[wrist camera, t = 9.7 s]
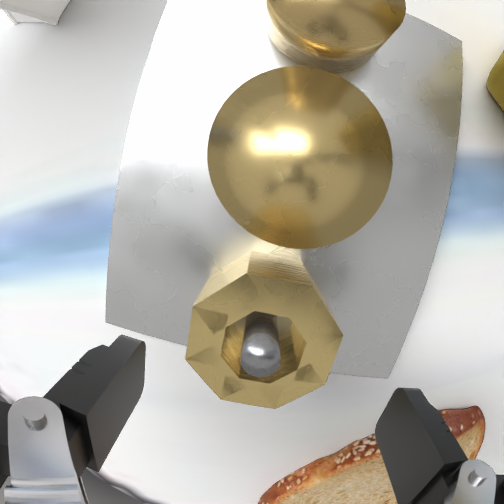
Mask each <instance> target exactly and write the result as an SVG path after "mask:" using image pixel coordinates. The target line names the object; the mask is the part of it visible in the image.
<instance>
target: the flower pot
mask: <svg viewBox="0 0 504 504" xmlns="http://www.w3.org/2000/svg"><path fill="white" fill-rule="evenodd" d="M487 88H488V90H489V92H490V93H491V95H492V96H493V97H494V99H495V100H496V101H497V103H498V104H499V106H500V107H501V108H502V110H503V111H504V51H503V53H502V54H501V56H500V58H499V59H498V61H497V62H496V64H495V65H494V67H493V68H492V70H491V72H490V74H489V77H488V80H487Z"/></svg>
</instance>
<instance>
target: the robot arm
mask: <svg viewBox="0 0 504 504" xmlns="http://www.w3.org/2000/svg"><path fill="white" fill-rule="evenodd" d="M145 351H146V345H145V342H144V341H141V340H137V339H134V338H131V337H128V336H125V335H120V336H119V337H118V338H117V339H116V340H115V341H114V342H113V343H112V344H111V345H110V346H109V347H108V346H105V345H100V346H98V347H96V348H93V349H91V350H89V351H88V352H87V353H86V354H85V355H84V356H83V357H82V358H81V359H80V360H79V362H77V363H76V364H75V365H74V366H73V367H72V369H70V370H69V371H68V372H67V373H66V374H65V375H64V376H63V377H62V378H61V379H60V380H59V381H58V382H57V383H56V384H55V385H54V386H53V387H52V388H51V389H50V390H49V391H48V393H47V394H46V395H45V396H44V397H43V398H42V397H35V396H32V397H25V398H22V399H20V400H18V401H16V402H15V403H14V404H13V405H12V404H8V403H5V402H1V401H0V488H1V487H2V485H3V484H4V482H5V480H6V479H7V477H8V476H11V485H10V486H6V487H5V491H4V499H5V504H89V502H88V499H87V496H86V492H85V490H84V486H83V483H82V480H81V475H82V473H83V471H84V470H85V468H86V467H88V468H90V469H93V470H95V471H97V472H99V470H100V468H101V467H102V465H103V463H104V461H105V459H106V458H107V456H108V454H109V452H110V450H111V449H112V447H113V445H114V443H115V441H116V440H117V438H118V436H119V434H120V432H121V431H122V429H123V427H124V425H125V424H126V422H127V420H128V418H129V417H130V415H131V413H132V411H133V410H134V408H135V406H136V404H137V403H138V401H139V399H140V397H141V394H142V391H143V387H144V375H145ZM375 438H376V441H377V444H378V447H379V450H380V452H381V455H382V458H383V461H384V464H385V467H386V470H387V473H388V476H389V479H390V482H391V485H392V488H393V491H394V494H395V497H396V500H397V503H398V504H504V475H495V473H494V471H493V469H492V468H491V467H490V466H489V465H488V464H486V463H485V462H483V461H480V460H475V459H472V460H468V458H467V456H466V455H465V453H464V451H463V450H462V448H461V446H460V445H459V443H458V441H457V440H456V438H455V436H454V435H453V433H452V432H450V428H449V427H448V425H447V424H445V420H444V419H443V417H442V415H441V414H440V412H439V411H438V410H436V409H435V408H434V407H433V406H432V405H431V404H430V403H429V402H428V401H427V399H426V397H425V396H424V394H423V393H422V391H421V390H420V389H417V388H398V389H396V390H395V391H394V393H393V395H392V397H391V399H390V400H389V402H388V404H387V406H386V408H385V410H384V411H383V413H382V415H381V417H380V418H379V420H378V422H377V425H376V429H375Z"/></svg>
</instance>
